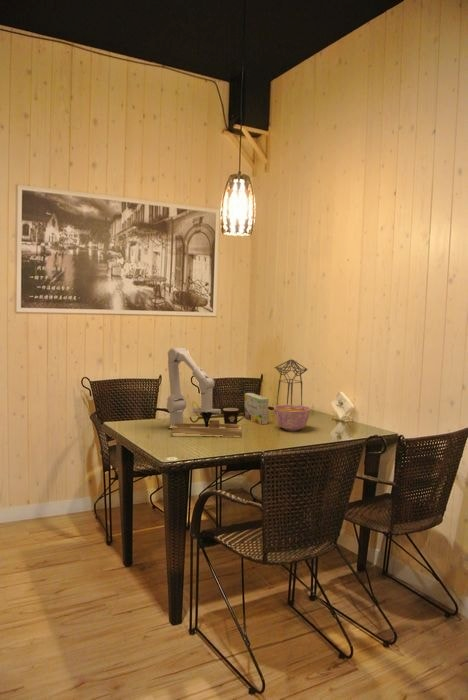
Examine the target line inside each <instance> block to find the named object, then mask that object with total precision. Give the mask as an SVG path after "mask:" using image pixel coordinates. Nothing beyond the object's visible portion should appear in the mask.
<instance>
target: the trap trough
mask: <svg viewBox="0 0 468 700" xmlns="http://www.w3.org/2000/svg"><path fill="white" fill-rule="evenodd" d="M172 433H185V434H200V435H223V436H241V437H242V423H237V424H224V423H219V428H209V423H208V427H205V423H197V422H196V423H194V422H193V423H186V422H183V423H174V427H172V429H171V434H172Z"/></svg>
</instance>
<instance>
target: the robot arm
mask: <svg viewBox="0 0 468 700" xmlns="http://www.w3.org/2000/svg"><path fill="white" fill-rule="evenodd" d="M190 354H191V353H190V351H189V350H188V348H187V347H184V346H183V347H171V348H170V349H169V350H168V352H167V368H168V378H169V391H170V395H169V396H168V397H167V399H166V409H167V411H168V413H169V426H170V425H172V426H174V423H184V412H185V410H186V408H187V402H186V400H185V396H184V395H183V394H182V392H181V381H180V370H179V369H180V368H179V366H180V364H181V362H184V363H185V364H186V366H187V367H188V368H190V370H191V371H192V376H194V378H195V379H196V381H197V382H198V386H199V389H200V393H201V396H200V397H201V400H200V401H201V405H200V406H201V408H192V414H201V417H202V420H203V423H204V424H205V427H208V424H209V421H210V420H211V418H212V415H213V414H218V415H219V414H220V415H221V414H222V410H221V408H213V389H214V388H215V385H216V382H215V379H214V378H213V377H212V376H209V375H208V373H206V372H205V370H204V368H203V367H202V366H201V367H200V366H198V365H197V364H196V362H195V360H194V359H193V358H192V356H191V355H190Z"/></svg>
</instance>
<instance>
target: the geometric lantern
mask: <svg viewBox="0 0 468 700" xmlns="http://www.w3.org/2000/svg"><path fill="white" fill-rule="evenodd" d="M281 366H282V367H281ZM301 367H302V368H301ZM274 369H276V370H277V371H278V373H279V379H278V389H277V397H276V404H275V405H276V406H279V405H278V404H279V395H280V387H281V382H282V383H285V384H287V394H286V397H287V398H286V405H289V396H290V405H293V392H294V391H293V387H294V384H298V383H299V384H300V397H301V398H300V403H301V404H300V406H303V380H302V374H304V373H306V371H308V368H307V367H305V366H304V365H302V364H300V363H298V362H297V361H296V360H294V359H287V360H286V361H284V362H283V363H281V364H278V365H277V366H274ZM291 369H292V370H291ZM289 372H293V373H294V374H295V375H294V376H293V377H292V378H290V376H289V374H288V373H289ZM286 375H287V377H286ZM282 376H284V378H285V381H284V380H283V379H281V378H282ZM298 376H299V378H300V380H297V379H296V377H298ZM287 378H288V379H287ZM294 381H295V382H294ZM276 406H275V407H276Z"/></svg>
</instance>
